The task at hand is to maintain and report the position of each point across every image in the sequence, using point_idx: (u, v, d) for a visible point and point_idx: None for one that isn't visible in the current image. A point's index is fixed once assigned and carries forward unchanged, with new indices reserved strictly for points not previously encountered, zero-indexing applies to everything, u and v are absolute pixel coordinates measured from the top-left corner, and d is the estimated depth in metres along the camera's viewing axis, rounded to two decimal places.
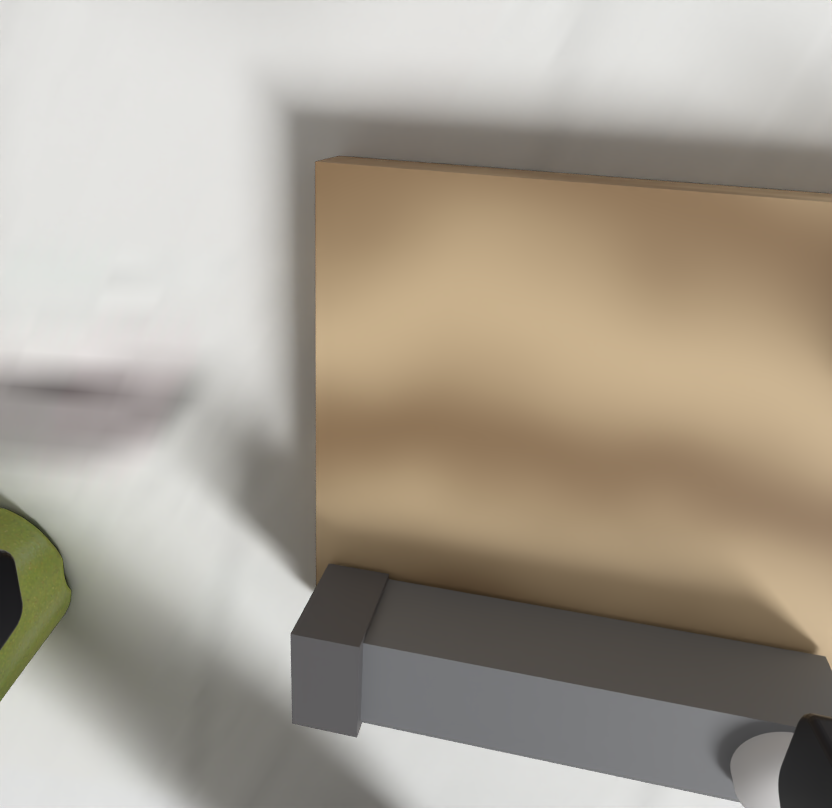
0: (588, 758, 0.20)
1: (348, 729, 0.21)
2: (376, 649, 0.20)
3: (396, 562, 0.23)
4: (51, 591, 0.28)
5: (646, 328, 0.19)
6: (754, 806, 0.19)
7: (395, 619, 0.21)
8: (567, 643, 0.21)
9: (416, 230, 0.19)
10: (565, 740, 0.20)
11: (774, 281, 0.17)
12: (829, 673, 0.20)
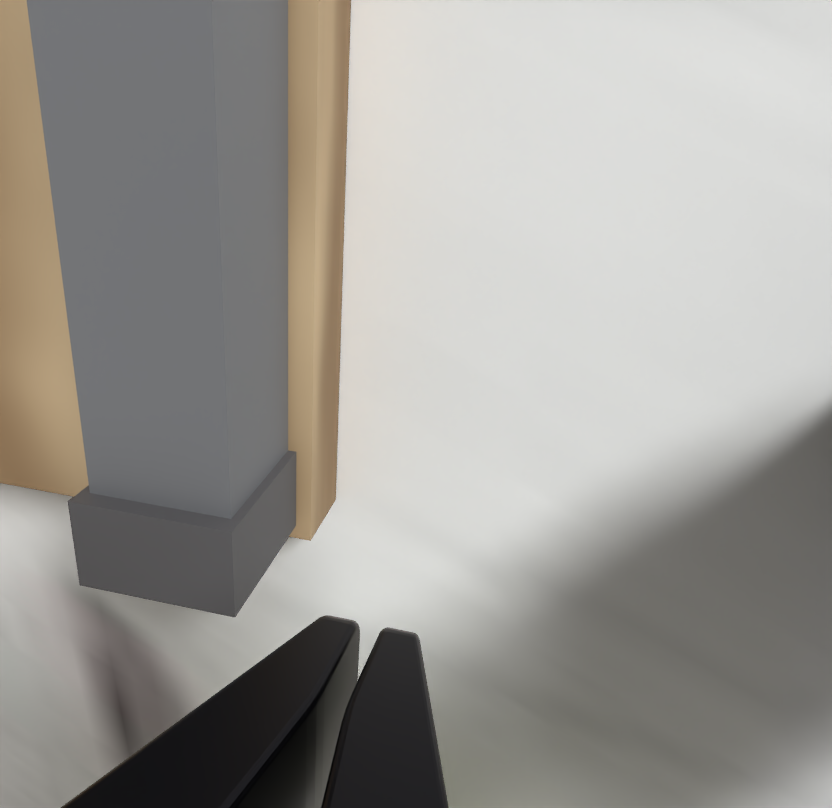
0: (191, 153, 0.11)
1: (219, 541, 0.14)
2: (93, 476, 0.14)
3: None
4: None
5: None
6: None
7: None
8: None
9: None
10: (164, 197, 0.12)
11: None
12: None
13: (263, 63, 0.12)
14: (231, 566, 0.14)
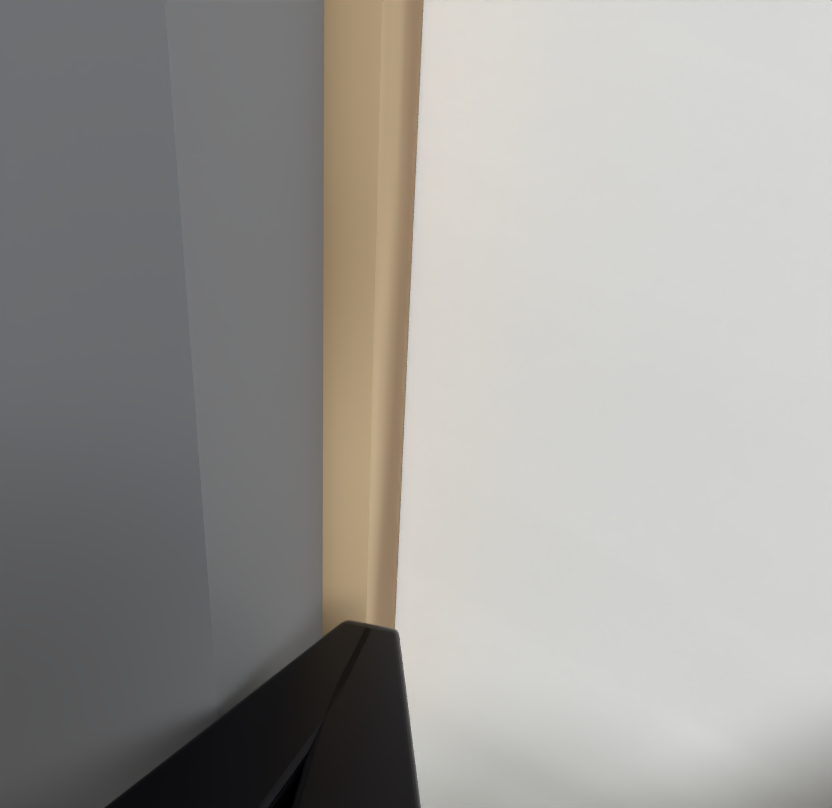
0: (133, 318, 0.05)
1: None
2: None
3: None
4: None
5: None
6: None
7: None
8: None
9: None
10: (82, 400, 0.06)
11: None
12: None
13: (281, 110, 0.06)
14: None
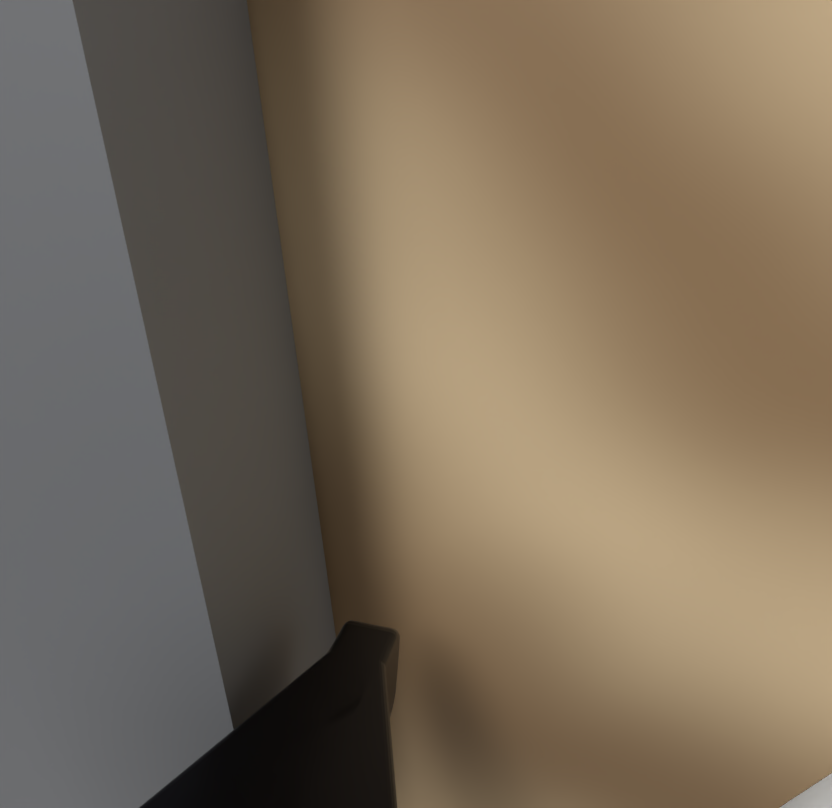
0: (89, 323, 0.05)
1: None
2: None
3: (829, 540, 0.08)
4: None
5: None
6: None
7: None
8: None
9: None
10: (52, 411, 0.06)
11: None
12: None
13: (216, 111, 0.06)
14: None
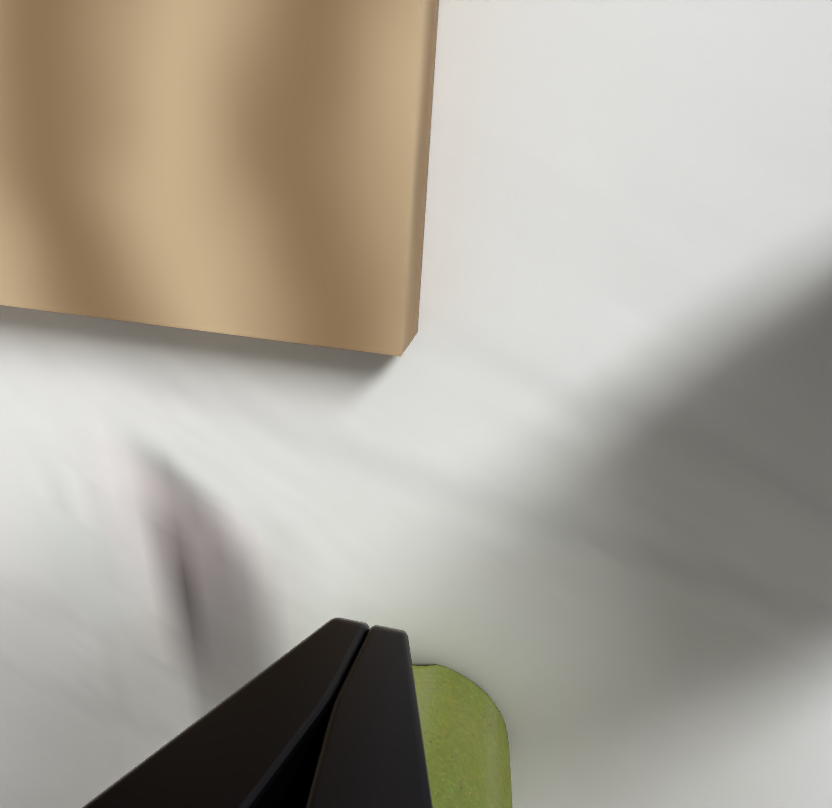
0: None
1: None
2: None
3: (239, 227, 0.17)
4: None
5: None
6: None
7: None
8: None
9: None
10: None
11: None
12: None
13: None
14: None
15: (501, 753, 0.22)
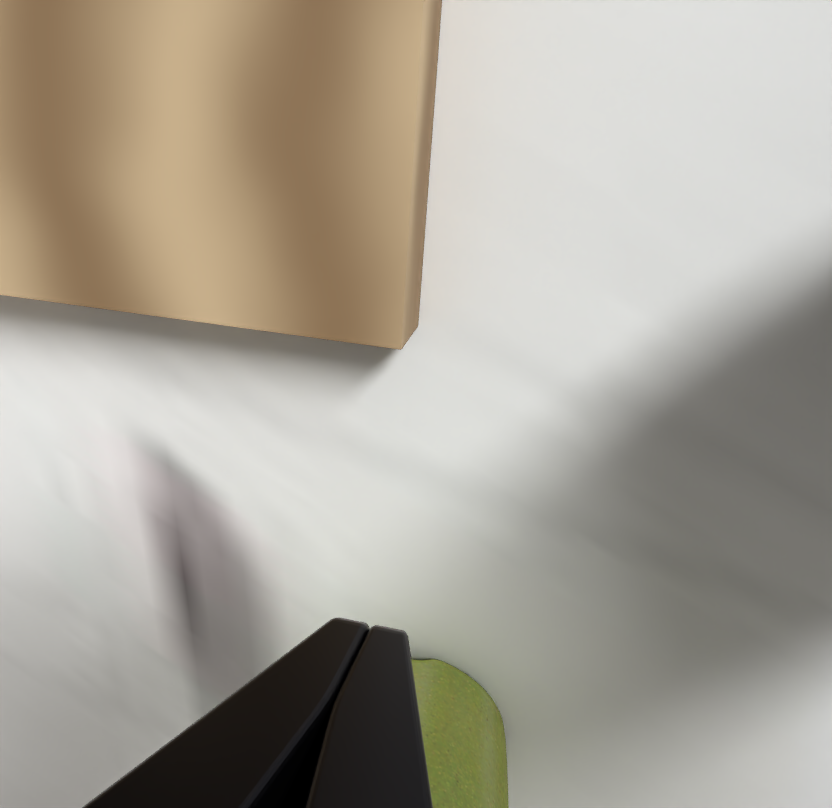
0: None
1: None
2: None
3: (241, 219, 0.17)
4: None
5: None
6: None
7: None
8: None
9: None
10: None
11: None
12: None
13: None
14: None
15: (498, 747, 0.22)
